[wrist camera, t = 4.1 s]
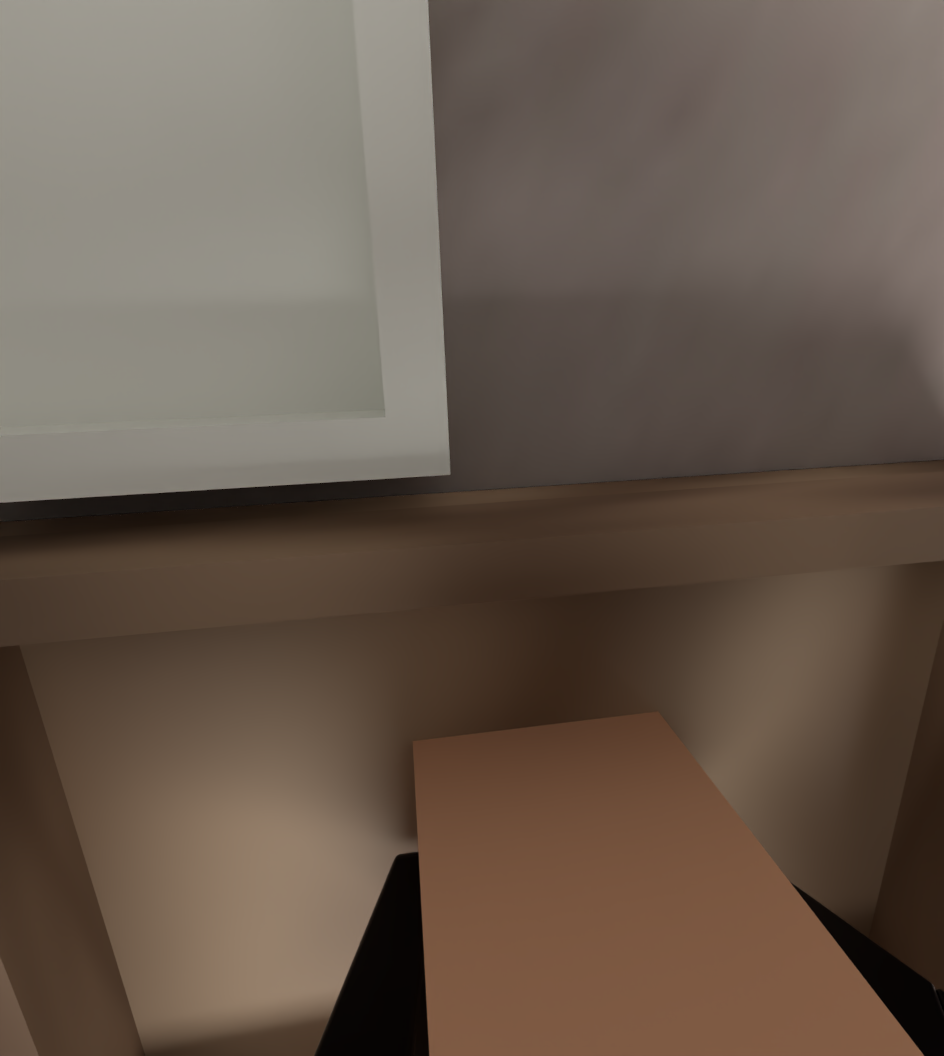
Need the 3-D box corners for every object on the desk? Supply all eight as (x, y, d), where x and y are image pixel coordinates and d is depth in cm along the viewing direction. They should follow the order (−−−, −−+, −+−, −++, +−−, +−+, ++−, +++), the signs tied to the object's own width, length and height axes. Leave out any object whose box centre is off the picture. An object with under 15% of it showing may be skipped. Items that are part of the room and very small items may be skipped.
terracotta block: (658, 711, 9) (962, 1104, 4) (644, 898, 10) (870, 1374, 5) (412, 741, 8) (439, 1227, 4) (427, 933, 10) (462, 1493, 5)
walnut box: (966, 458, 9) (1164, 489, 7) (854, 948, 13) (962, 1084, 10) (-29, 523, 7) (-228, 597, 5) (145, 1081, 11) (75, 1285, 8)
